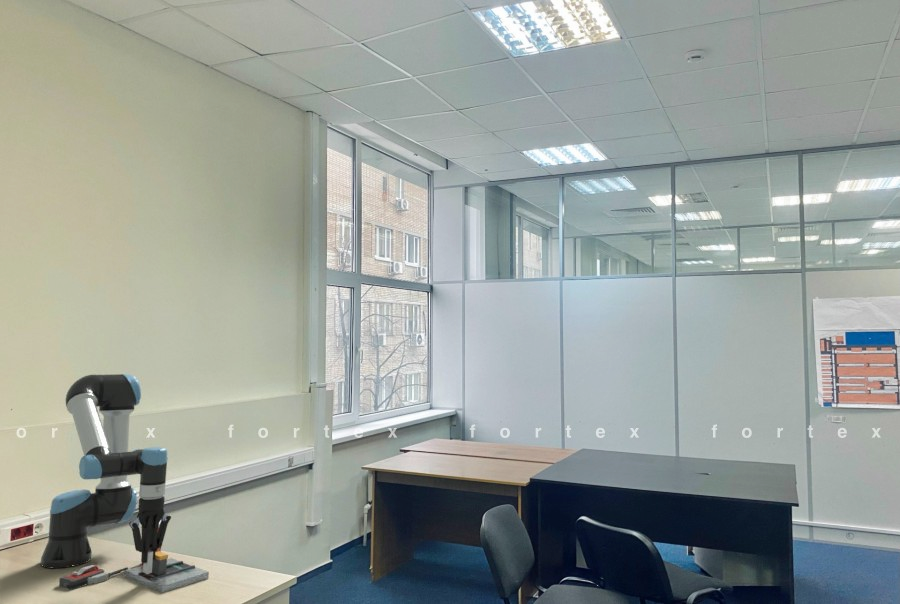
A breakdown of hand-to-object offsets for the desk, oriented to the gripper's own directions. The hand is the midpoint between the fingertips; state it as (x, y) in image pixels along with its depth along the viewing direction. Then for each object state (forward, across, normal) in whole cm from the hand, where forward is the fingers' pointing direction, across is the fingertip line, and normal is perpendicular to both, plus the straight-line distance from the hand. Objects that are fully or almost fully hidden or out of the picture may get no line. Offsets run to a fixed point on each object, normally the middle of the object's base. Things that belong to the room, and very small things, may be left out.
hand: (147, 572), depth 198 cm
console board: (+3, +7, 0) cm, 8 cm away
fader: (+1, +4, 0) cm, 4 cm away
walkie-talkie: (+4, -9, +16) cm, 19 cm away
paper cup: (+4, +11, +17) cm, 20 cm away
